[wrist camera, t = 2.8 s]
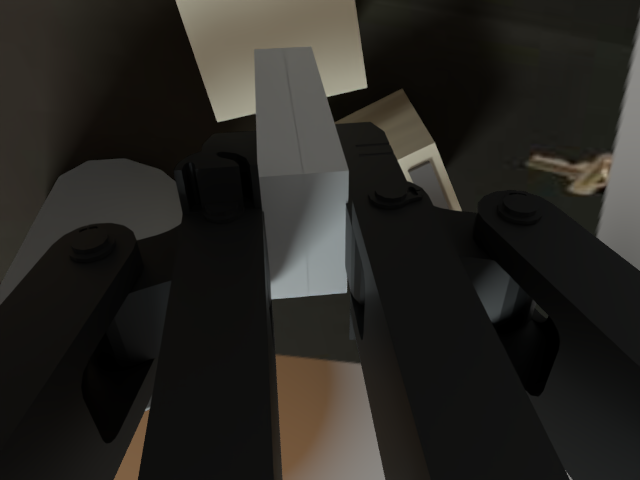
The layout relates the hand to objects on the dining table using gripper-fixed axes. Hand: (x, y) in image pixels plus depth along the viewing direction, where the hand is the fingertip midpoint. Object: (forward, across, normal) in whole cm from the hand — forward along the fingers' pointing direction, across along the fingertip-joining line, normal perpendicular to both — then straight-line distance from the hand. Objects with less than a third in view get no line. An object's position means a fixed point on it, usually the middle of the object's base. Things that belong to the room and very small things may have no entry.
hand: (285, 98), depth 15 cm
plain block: (+12, 0, 0) cm, 12 cm away
